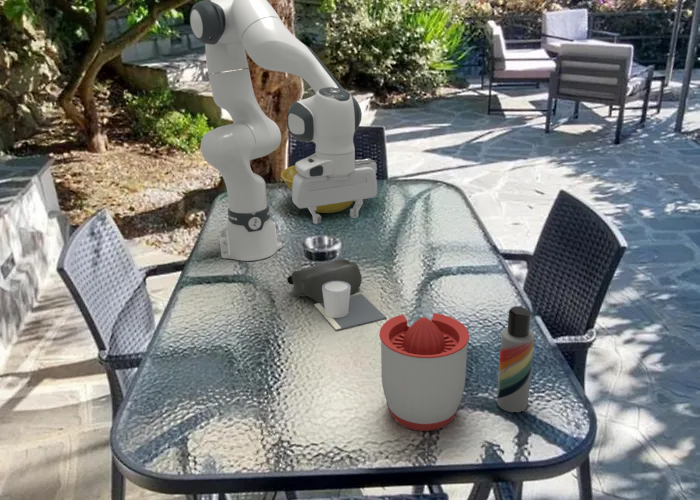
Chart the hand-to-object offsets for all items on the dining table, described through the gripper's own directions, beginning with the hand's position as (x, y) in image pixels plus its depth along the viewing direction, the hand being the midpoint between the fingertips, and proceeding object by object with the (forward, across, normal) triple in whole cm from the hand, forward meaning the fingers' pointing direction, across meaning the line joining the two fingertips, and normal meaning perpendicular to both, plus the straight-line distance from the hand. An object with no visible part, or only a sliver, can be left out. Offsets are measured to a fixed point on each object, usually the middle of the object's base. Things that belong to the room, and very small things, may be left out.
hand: (335, 219), depth 149 cm
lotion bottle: (+21, -14, +52) cm, 58 cm away
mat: (+23, -1, +5) cm, 23 cm away
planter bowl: (+25, -27, -71) cm, 80 cm away
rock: (+23, 0, -8) cm, 25 cm away
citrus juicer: (+22, +2, +46) cm, 51 cm away
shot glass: (+22, +2, +4) cm, 23 cm away
